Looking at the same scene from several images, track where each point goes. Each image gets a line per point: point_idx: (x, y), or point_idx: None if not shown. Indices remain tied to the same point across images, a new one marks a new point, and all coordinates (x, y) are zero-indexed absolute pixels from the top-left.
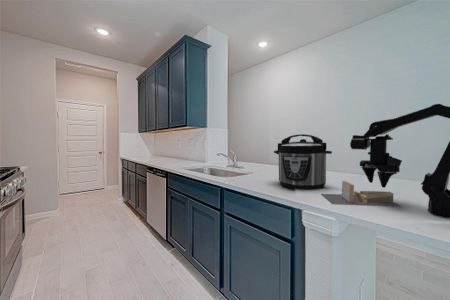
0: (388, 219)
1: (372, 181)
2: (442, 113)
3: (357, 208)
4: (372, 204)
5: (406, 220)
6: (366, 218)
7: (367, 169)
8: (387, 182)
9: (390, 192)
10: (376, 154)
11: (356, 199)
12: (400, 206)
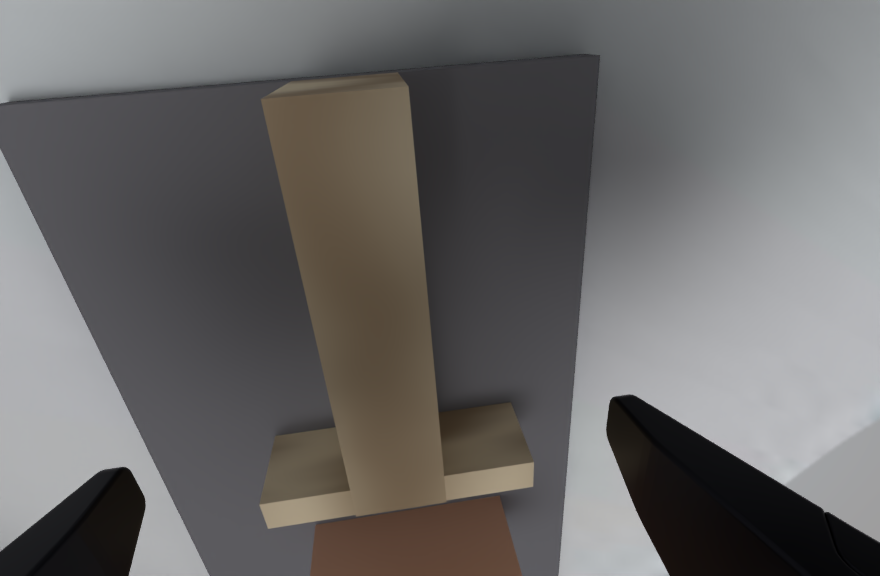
0: (823, 343)
1: (111, 488)
2: None
3: (581, 466)
4: (535, 365)
5: (874, 218)
6: (779, 462)
7: None
8: (751, 468)
9: (337, 108)
10: None
11: None
12: (586, 76)
